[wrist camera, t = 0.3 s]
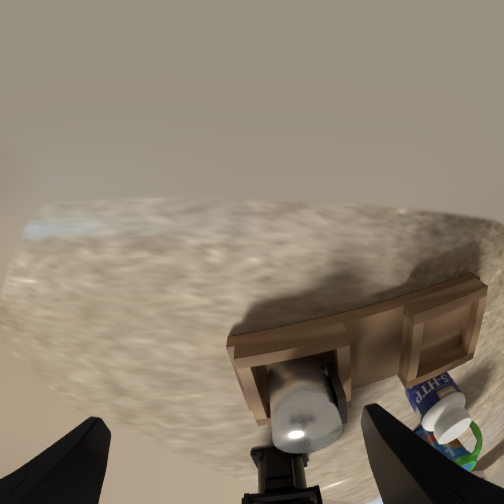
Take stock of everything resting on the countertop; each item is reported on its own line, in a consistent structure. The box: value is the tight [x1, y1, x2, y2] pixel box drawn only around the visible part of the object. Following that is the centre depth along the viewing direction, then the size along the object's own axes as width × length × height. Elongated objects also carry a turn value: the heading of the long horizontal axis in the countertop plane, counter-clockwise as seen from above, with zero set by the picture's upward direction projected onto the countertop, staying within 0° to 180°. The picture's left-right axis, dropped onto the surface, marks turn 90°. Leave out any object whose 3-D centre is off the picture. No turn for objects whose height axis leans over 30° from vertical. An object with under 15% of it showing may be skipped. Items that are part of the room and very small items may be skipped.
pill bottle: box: [404, 372, 472, 444], centre depth 21 cm, size 5×5×9 cm
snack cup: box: [415, 421, 482, 472], centre depth 25 cm, size 16×10×10 cm
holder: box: [226, 272, 488, 426], centre depth 22 cm, size 8×24×4 cm, turn 103°
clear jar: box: [268, 354, 347, 453], centre depth 19 cm, size 5×5×7 cm
